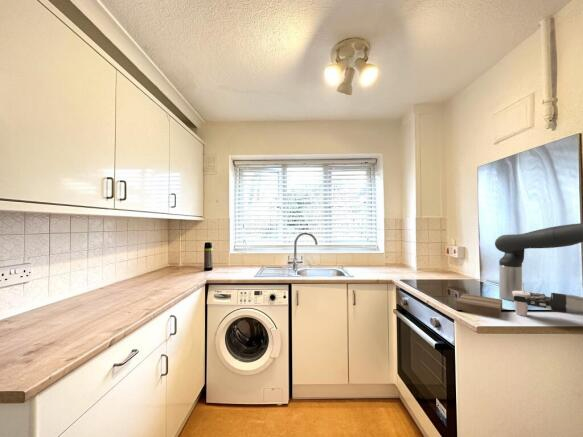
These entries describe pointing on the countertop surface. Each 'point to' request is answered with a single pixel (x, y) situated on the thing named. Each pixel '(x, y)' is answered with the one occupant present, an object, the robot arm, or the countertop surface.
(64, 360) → the countertop surface
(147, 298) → the countertop surface
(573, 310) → the robot arm
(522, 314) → the smoothie
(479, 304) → the plinth
